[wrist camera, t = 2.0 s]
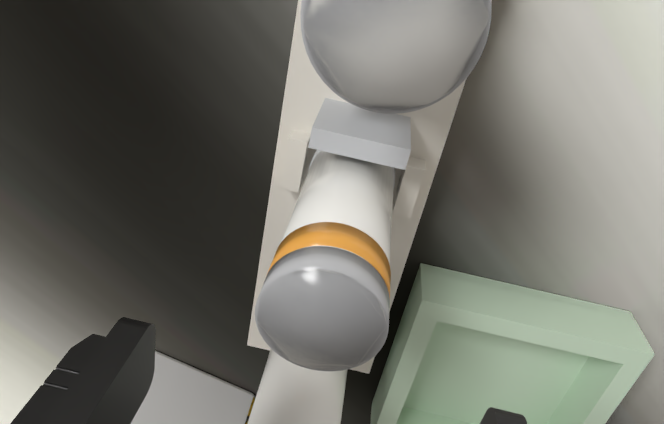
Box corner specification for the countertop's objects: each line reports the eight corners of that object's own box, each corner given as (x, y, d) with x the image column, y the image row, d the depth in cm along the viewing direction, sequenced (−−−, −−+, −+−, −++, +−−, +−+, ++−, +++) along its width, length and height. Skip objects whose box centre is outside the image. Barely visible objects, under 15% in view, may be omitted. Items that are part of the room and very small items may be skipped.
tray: (371, 403, 32) (368, 445, 30) (420, 262, 27) (422, 300, 24) (545, 443, 32) (557, 490, 29) (630, 311, 26) (654, 354, 24)
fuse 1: (281, 323, 28) (224, 506, 19) (291, 269, 26) (234, 444, 17) (348, 339, 28) (322, 529, 19) (363, 286, 26) (341, 470, 17)
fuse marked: (305, 196, 24) (247, 354, 15) (319, 121, 22) (263, 253, 13) (383, 214, 24) (371, 383, 15) (404, 140, 22) (404, 285, 13)
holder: (253, 326, 30) (228, 394, 26) (331, -175, 18) (307, -204, 14) (370, 354, 30) (364, 426, 26) (527, -131, 18) (565, -147, 14)
